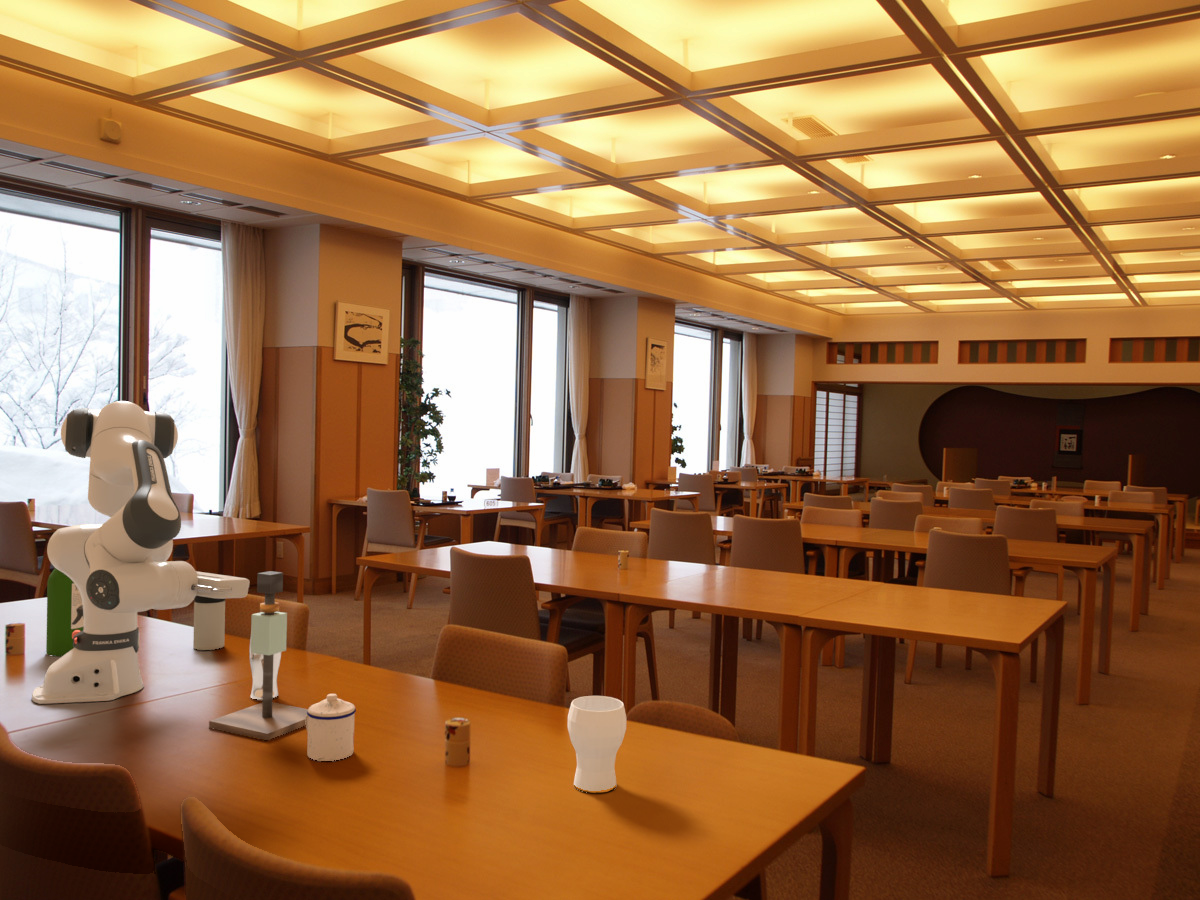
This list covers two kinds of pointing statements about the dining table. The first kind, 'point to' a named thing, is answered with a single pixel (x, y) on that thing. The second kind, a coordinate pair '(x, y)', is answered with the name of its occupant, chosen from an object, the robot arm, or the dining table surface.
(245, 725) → the post stand
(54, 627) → the wine bottle
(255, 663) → the beer glass
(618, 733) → the cup
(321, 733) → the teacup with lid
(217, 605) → the travel mug
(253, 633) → the marker sleeve
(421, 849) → the dining table surface
